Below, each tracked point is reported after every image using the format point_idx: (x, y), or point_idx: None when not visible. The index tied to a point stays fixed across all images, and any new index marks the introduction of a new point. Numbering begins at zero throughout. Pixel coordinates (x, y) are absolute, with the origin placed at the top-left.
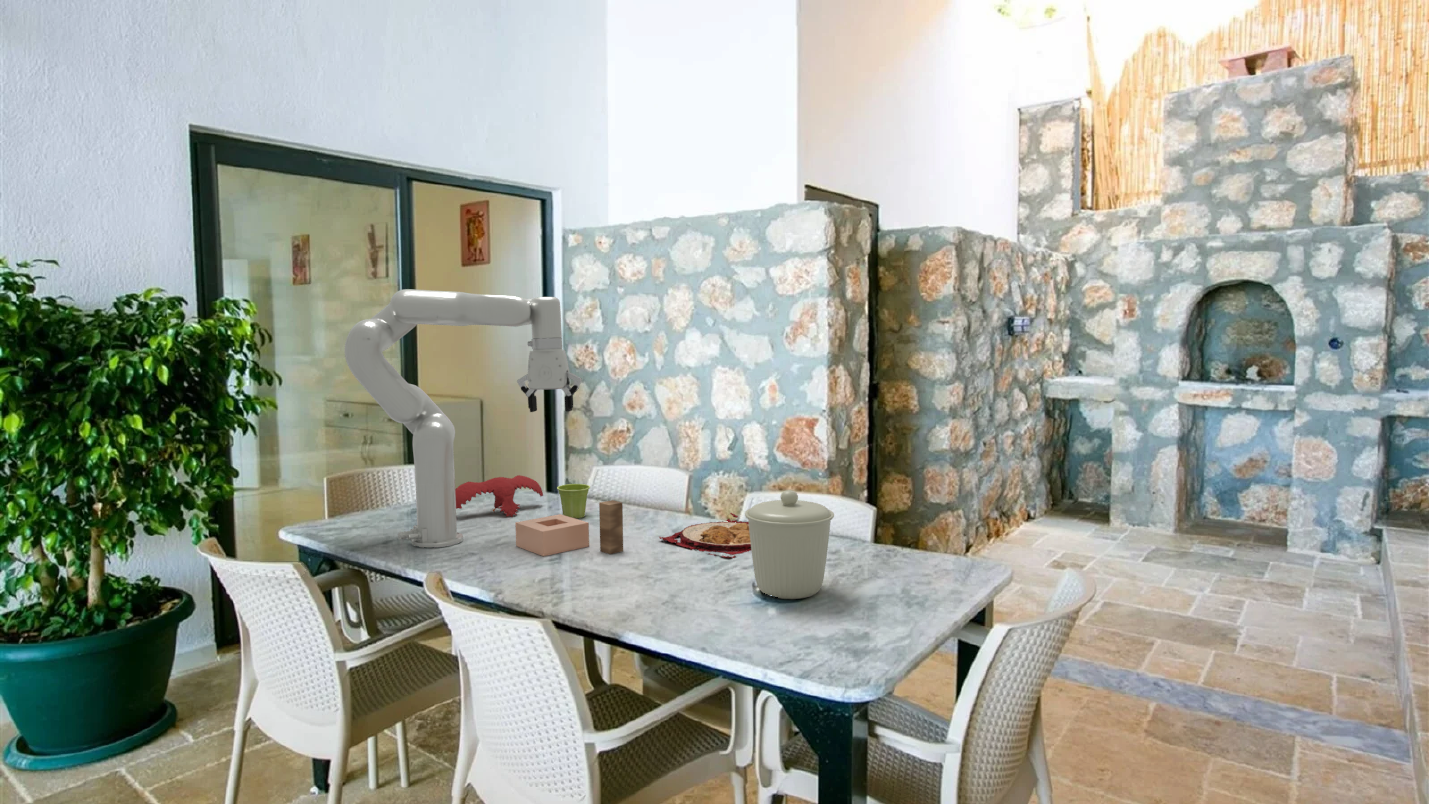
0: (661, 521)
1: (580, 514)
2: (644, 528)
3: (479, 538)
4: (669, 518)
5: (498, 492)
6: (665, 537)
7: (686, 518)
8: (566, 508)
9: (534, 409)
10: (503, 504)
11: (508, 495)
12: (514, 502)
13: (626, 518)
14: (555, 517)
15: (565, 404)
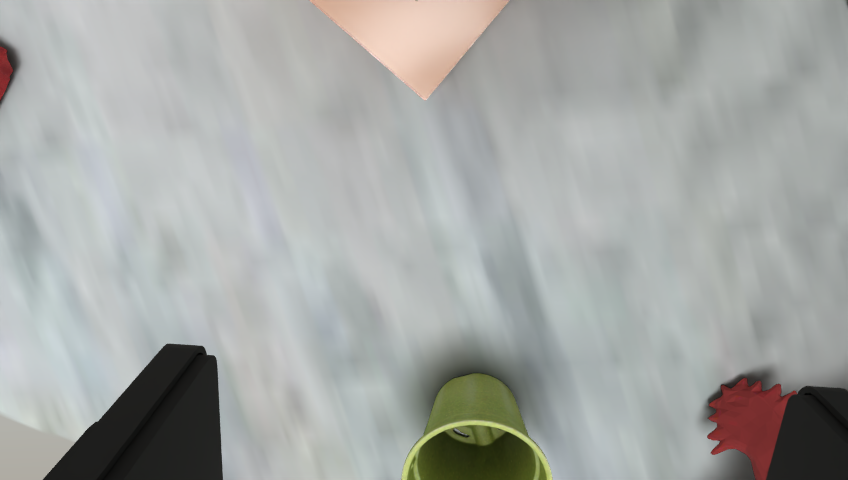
0: (125, 357)
1: (441, 391)
2: (149, 251)
3: (776, 32)
4: (113, 400)
5: None
6: (3, 90)
7: (53, 403)
8: (494, 393)
9: (785, 473)
10: (780, 415)
11: None
12: (739, 447)
13: (268, 392)
14: (427, 29)
15: (161, 413)
